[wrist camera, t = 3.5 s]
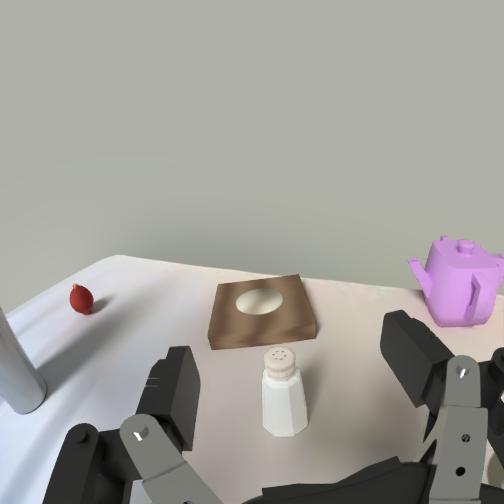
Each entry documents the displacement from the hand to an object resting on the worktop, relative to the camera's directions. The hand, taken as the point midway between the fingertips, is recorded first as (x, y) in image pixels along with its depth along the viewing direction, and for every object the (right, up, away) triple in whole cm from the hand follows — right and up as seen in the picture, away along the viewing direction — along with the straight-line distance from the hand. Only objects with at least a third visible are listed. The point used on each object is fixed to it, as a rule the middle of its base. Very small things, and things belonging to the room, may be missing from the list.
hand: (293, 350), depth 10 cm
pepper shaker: (+2, -15, +16) cm, 23 cm away
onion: (-40, -11, +43) cm, 60 cm away
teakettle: (+35, -6, +29) cm, 46 cm away
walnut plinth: (0, -7, +37) cm, 38 cm away
